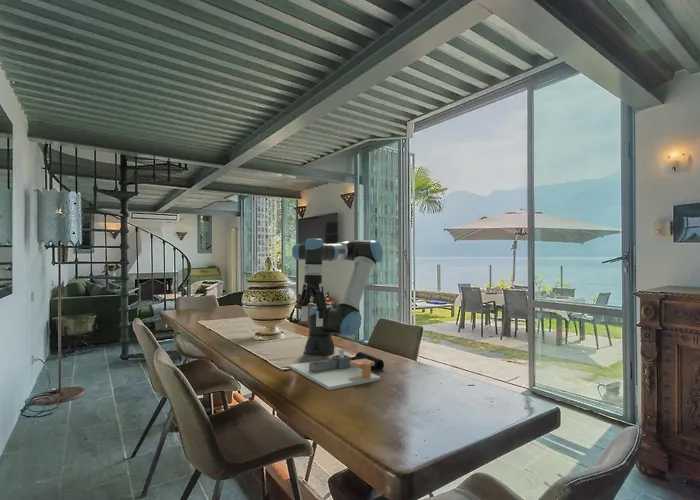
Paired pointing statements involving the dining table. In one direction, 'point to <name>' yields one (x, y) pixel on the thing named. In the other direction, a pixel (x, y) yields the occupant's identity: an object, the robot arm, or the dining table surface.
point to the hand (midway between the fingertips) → (311, 323)
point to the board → (334, 376)
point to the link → (330, 364)
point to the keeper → (363, 366)
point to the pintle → (341, 354)
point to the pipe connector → (378, 363)
